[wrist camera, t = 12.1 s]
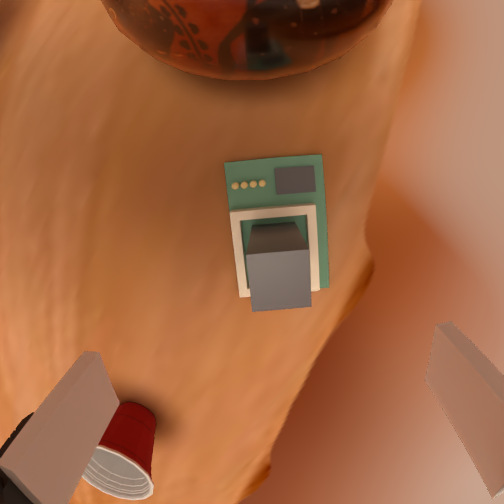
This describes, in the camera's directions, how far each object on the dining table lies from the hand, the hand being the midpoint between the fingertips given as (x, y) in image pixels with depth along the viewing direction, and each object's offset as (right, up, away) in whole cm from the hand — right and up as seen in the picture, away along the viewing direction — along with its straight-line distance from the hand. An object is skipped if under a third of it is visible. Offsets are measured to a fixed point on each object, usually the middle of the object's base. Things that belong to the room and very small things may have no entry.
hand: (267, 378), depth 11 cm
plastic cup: (-17, -18, +28) cm, 37 cm away
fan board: (+2, +7, +19) cm, 21 cm away
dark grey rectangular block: (+2, +5, +19) cm, 20 cm away
